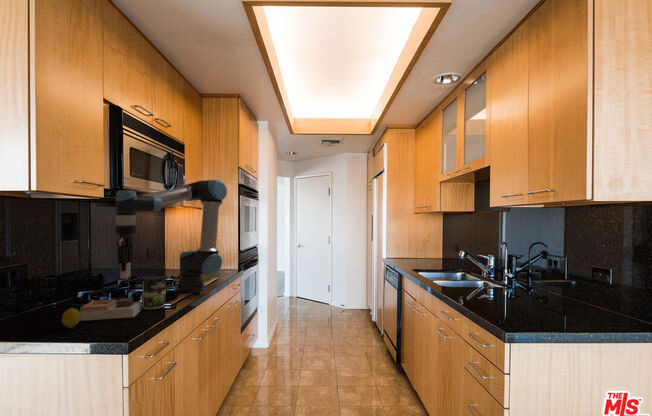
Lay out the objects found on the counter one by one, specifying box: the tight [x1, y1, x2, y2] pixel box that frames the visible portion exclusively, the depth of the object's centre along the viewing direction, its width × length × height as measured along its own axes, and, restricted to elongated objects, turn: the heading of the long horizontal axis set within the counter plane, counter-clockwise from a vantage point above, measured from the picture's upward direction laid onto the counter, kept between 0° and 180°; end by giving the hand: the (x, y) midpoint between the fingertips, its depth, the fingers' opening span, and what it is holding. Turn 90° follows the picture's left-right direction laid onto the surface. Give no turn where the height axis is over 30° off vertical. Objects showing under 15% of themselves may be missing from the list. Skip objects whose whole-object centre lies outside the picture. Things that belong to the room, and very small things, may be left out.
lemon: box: [61, 307, 80, 329], centre depth 125 cm, size 6×6×8 cm
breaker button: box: [116, 297, 134, 308], centre depth 141 cm, size 5×5×6 cm
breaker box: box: [79, 299, 142, 322], centre depth 140 cm, size 20×10×6 cm, turn 103°
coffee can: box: [141, 274, 167, 310], centre depth 154 cm, size 10×10×14 cm
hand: (125, 277), depth 142 cm, fingers open, 2 cm apart
